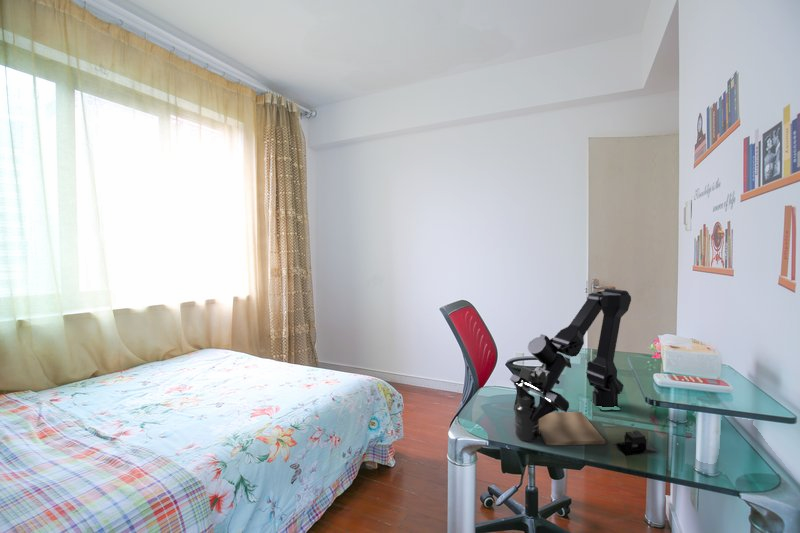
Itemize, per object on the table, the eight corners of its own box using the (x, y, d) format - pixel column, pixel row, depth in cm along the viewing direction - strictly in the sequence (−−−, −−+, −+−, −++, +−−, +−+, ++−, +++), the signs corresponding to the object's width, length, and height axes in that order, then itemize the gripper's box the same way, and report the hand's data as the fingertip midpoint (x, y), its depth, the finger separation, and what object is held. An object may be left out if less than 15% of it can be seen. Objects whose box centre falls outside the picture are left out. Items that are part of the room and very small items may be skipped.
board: (581, 414, 119) (581, 411, 119) (605, 443, 103) (605, 440, 103) (530, 416, 121) (530, 413, 120) (546, 445, 105) (546, 441, 105)
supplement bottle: (541, 443, 106) (540, 403, 105) (516, 441, 107) (515, 402, 106) (537, 429, 113) (536, 392, 111) (514, 428, 114) (512, 391, 113)
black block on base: (647, 440, 105) (647, 425, 104) (667, 456, 98) (668, 439, 97) (605, 444, 104) (605, 429, 104) (622, 460, 97) (622, 444, 96)
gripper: (513, 348, 117) (486, 389, 114) (560, 367, 100) (530, 416, 97) (533, 366, 121) (507, 407, 118) (581, 388, 104) (553, 436, 101)
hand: (522, 415), depth 109 cm, fingers closed on supplement bottle, 7 cm apart
